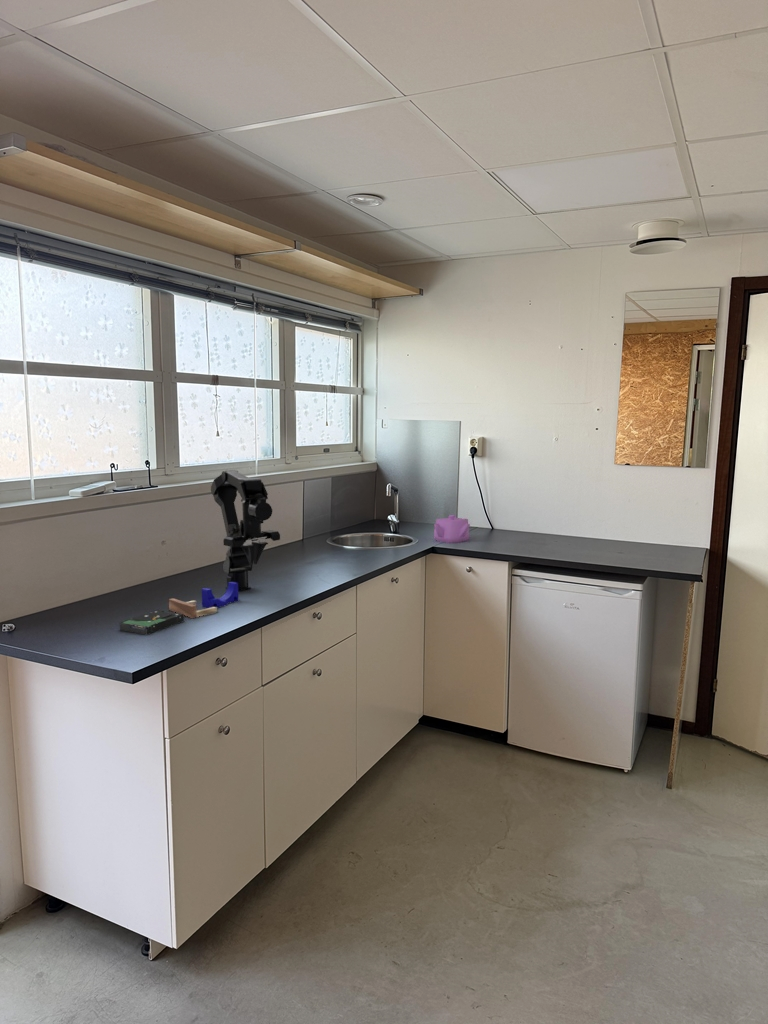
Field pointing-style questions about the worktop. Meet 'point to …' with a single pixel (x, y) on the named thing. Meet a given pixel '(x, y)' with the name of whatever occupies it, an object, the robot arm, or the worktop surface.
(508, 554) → the worktop surface
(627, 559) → the worktop surface
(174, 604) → the frame
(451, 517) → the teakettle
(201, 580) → the worktop surface
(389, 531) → the worktop surface
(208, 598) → the blue cradle bracket
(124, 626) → the disk drive
